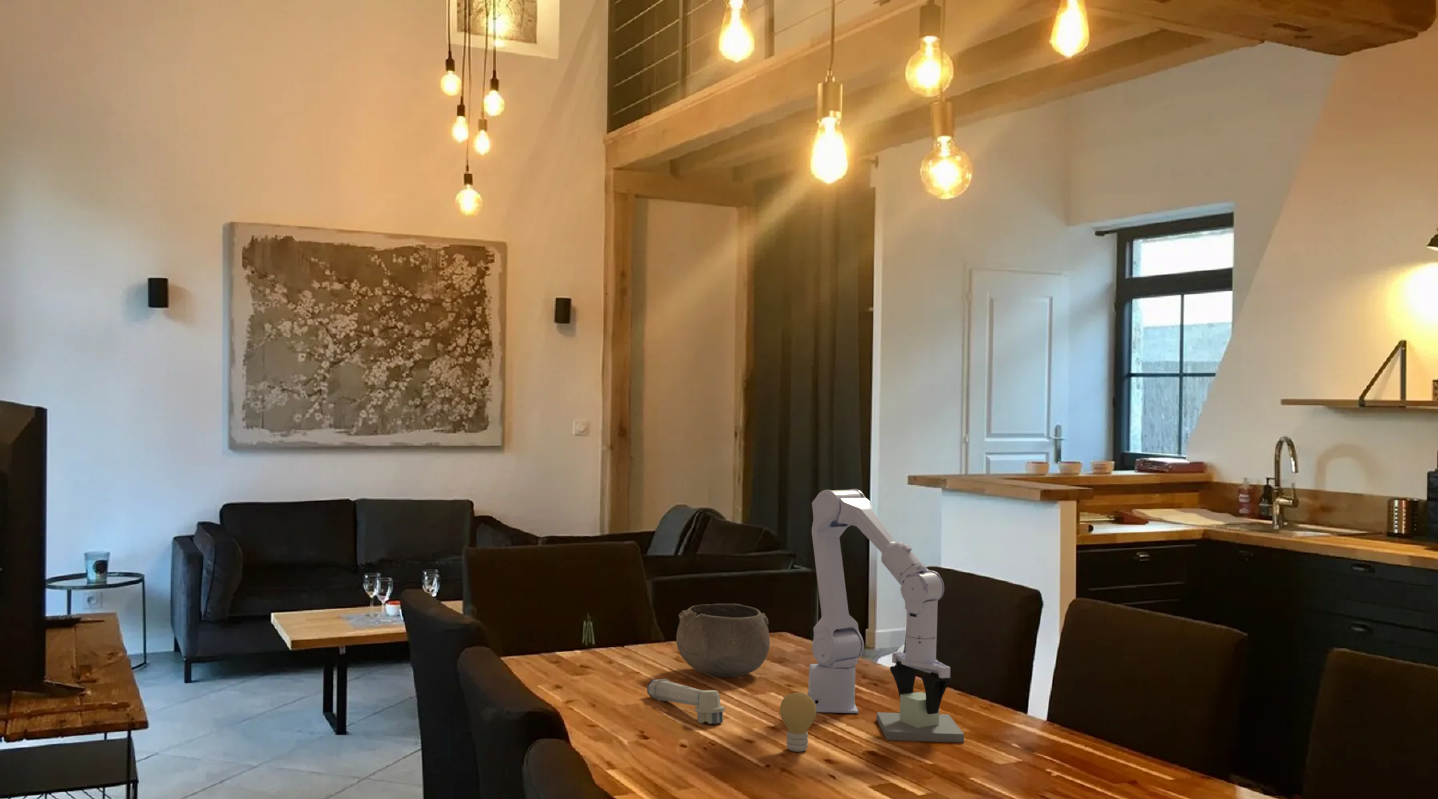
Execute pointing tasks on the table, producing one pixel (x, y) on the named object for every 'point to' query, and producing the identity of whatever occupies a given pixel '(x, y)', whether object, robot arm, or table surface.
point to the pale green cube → (916, 710)
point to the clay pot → (723, 639)
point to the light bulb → (797, 719)
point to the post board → (919, 729)
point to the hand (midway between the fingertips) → (919, 708)
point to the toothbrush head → (689, 699)
